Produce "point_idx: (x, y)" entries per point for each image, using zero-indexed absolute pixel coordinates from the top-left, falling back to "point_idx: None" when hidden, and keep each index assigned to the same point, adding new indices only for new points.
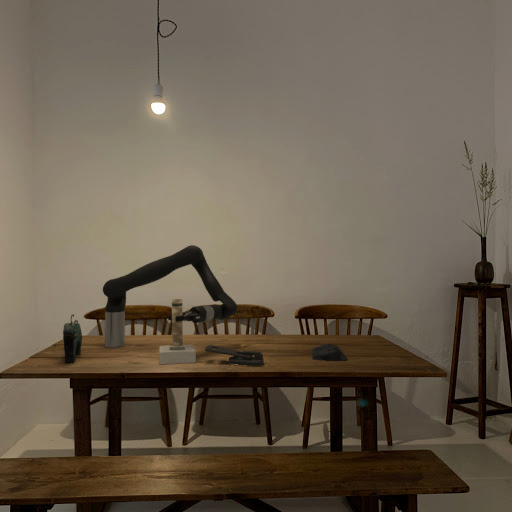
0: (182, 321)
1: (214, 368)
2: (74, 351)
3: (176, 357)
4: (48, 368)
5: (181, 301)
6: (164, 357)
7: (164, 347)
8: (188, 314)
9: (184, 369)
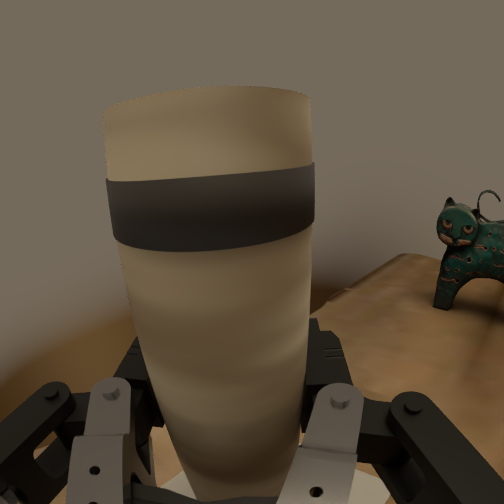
0: (180, 454)
1: None
2: (442, 281)
3: None
4: (409, 279)
5: (106, 148)
6: None
7: None
8: (80, 450)
9: None
